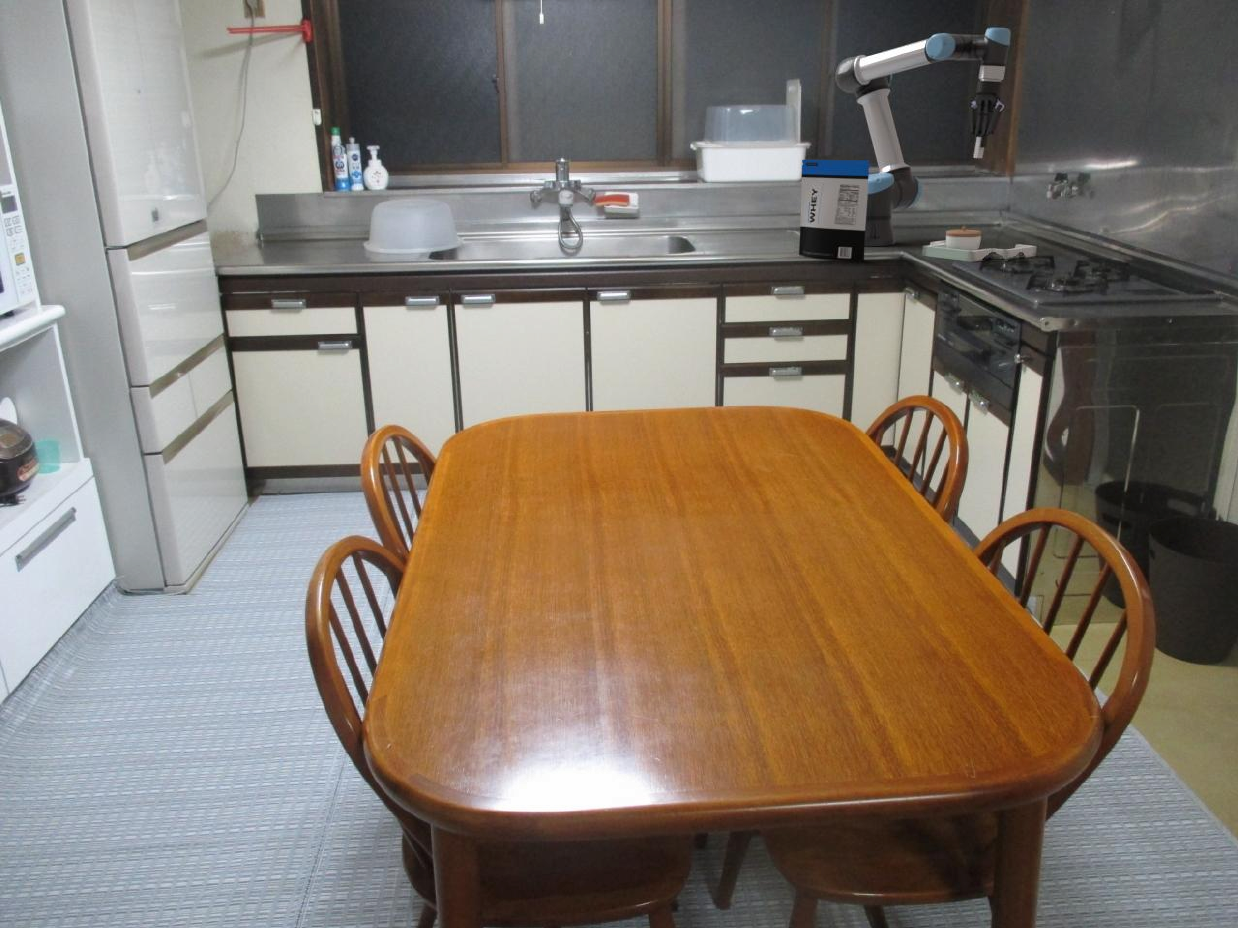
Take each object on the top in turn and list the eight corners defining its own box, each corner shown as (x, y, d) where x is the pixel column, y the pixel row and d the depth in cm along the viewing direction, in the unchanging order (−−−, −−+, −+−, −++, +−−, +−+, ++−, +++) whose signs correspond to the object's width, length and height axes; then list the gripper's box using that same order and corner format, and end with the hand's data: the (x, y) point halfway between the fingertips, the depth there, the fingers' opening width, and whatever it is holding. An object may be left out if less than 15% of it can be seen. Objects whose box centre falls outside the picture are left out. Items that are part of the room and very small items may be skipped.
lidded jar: (974, 254, 328) (977, 224, 325) (983, 258, 318) (986, 227, 314) (940, 254, 328) (943, 224, 325) (948, 259, 318) (950, 228, 315)
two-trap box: (909, 254, 330) (910, 244, 329) (959, 247, 343) (960, 238, 342) (984, 263, 307) (985, 253, 306) (1035, 256, 320) (1036, 246, 319)
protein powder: (855, 262, 316) (860, 161, 306) (790, 256, 332) (793, 160, 322) (871, 259, 322) (877, 160, 312) (807, 253, 338) (810, 159, 329)
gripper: (1015, 82, 322) (1001, 159, 330) (980, 80, 332) (968, 156, 340) (1000, 81, 318) (987, 159, 326) (966, 79, 328) (954, 156, 336)
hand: (977, 157), depth 333 cm, fingers closed
